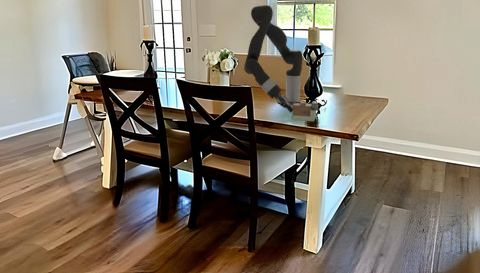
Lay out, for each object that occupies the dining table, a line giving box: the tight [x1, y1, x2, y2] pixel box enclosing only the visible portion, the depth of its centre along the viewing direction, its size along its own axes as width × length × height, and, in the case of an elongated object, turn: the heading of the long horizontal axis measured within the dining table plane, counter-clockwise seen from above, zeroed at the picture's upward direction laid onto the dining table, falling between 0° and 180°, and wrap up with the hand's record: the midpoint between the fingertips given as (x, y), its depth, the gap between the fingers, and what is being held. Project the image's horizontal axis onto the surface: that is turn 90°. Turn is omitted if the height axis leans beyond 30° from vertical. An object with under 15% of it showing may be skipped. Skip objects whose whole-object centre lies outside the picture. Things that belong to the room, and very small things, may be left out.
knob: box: [310, 101, 319, 111], centre depth 224 cm, size 4×4×4 cm
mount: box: [292, 110, 317, 122], centre depth 229 cm, size 9×12×6 cm
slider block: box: [292, 101, 312, 120], centre depth 229 cm, size 5×10×9 cm, turn 73°
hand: (292, 111), depth 230 cm, fingers closed
